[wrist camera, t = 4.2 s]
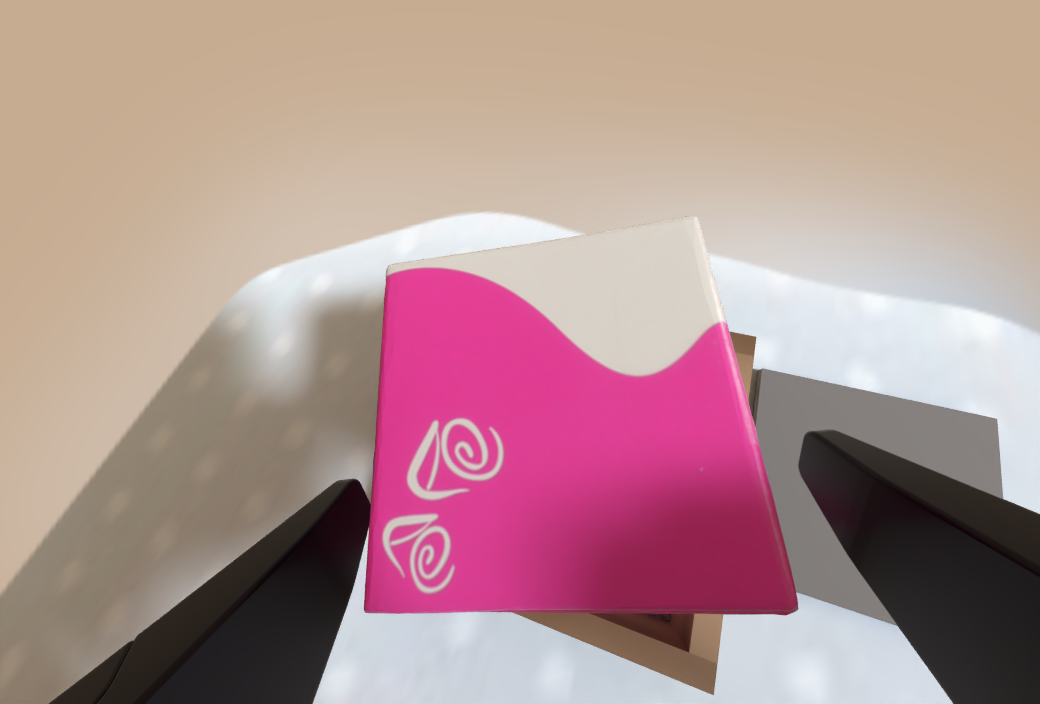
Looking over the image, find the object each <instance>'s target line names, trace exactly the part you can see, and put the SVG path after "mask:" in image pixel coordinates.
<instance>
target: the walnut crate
mask: <svg viewBox="0 0 1040 704" xmlns="http://www.w3.org/2000/svg"><path fill="white" fill-rule="evenodd" d="M730 336H731V339H732V343H733V347H734V351H735V355H736V358H737V362H738V366H739V370H740V373H741V377H742V380H743V384H744V387H745V391H746V394H747V398H748V402H749V393H750V385H751V377H752V368H753V360H754V351H755V343H756V337H754V336H749V335H744V334H739V333H734V332H730ZM513 613H516V614H518V615H520V616H523V617H525V618H528V619H530V620H532V621H535V622H537V623H540V624H542V625H545V626H547V627H549V628H552V629H554V630H557V631H559V632H562V633H564V634H566V635H569V636H571V637H574V638H576V639H579V640H581V641H583V642H586V643H588V644H591V645H593V646H596V647H598V648H600V649H603V650H605V651H608V652H610V653H613V654H615V655H617V656H620V657H622V658H625V659H627V660H630V661H632V662H634V663H637V664H639V665H642V666H644V667H647V668H649V669H651V670H654V671H656V672H659V673H661V674H664V675H666V676H668V677H671V678H673V679H676V680H678V681H681V682H683V683H685V684H688V685H690V686H693V687H695V688H697V689H700V690H702V691H705V692H707V693H710V694H712V695H714V687H715V679H716V670H717V662H718V653H719V645H720V637H721V628H722V620H723V614H694V613H692V614H671V619H670V622H667V621H664V620H662V619H659V618H656V617H654V616H651V615H649V614H646V613H533V612H513Z"/></svg>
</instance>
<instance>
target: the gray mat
mask: <svg viewBox="0 0 1040 704" xmlns="http://www.w3.org/2000/svg"><path fill="white" fill-rule="evenodd" d="M753 421H754V424H755V427H756V432H757V437H758V441H759V446H760V450H761V454H762V458H763V462H764V466H765V470H766V473H767V476H768V480H769V483H770V486H771V489H772V493H773V498H774V502H775V506H776V510H777V514H778V519H779V523H780V527H781V531H782V534H783V538H784V542H785V546H786V550H787V554H788V558H789V562H790V566H791V571H792V575H793V580H794V584H795V590H796V592H798V593H801V594H804V595H807V596H810V597H813V598H816V599H819V600H822V601H825V602H828V603H831V604H834V605H837V606H840V607H843V608H846V609H849V610H852V611H855V612H858V613H861V614H864V615H867V616H870V617H873V618H876V619H879V620H882V621H885V622H888V623H891V624H894V625H897V624H896V623H895V621H894V620H893V619H892V617H891V616H890V614H889V613H888V612H887V610H886V609H885V607H884V606H883V605H882V603H881V602H880V600H879V599H878V598H877V596H876V595H875V593H874V592H873V591H872V589H871V588H870V586H869V585H868V584H867V582H866V581H865V579H864V578H863V577H862V575H861V574H860V573H859V571H858V570H857V568H856V567H855V565H854V564H853V562H852V561H851V559H850V558H849V557H848V555H847V553H846V552H845V550H844V549H843V547H842V545H841V544H840V542H839V540H838V539H837V537H836V535H835V534H834V532H833V530H832V528H831V527H830V525H829V523H828V522H827V520H826V518H825V516H824V515H823V513H822V511H821V510H820V508H819V506H818V505H817V503H816V501H815V499H814V498H813V496H812V494H811V493H810V491H809V489H808V487H807V486H806V484H805V482H804V481H803V479H802V477H801V475H800V472H799V468H798V462H799V457H800V452H801V447H802V443H803V438H804V435H805V434H806V433H807V432H808V431H812V430H821V429H834V430H837V431H839V432H842V433H844V434H847V435H849V436H851V437H854V438H856V439H859V440H861V441H864V442H866V443H868V444H871V445H873V446H876V447H878V448H881V449H883V450H885V451H888V452H890V453H893V454H895V455H897V456H900V457H902V458H905V459H907V460H910V461H912V462H914V463H917V464H919V465H922V466H924V467H927V468H929V469H931V470H934V471H936V472H939V473H941V474H944V475H946V476H948V477H951V478H953V479H956V480H958V481H961V482H963V483H965V484H968V485H970V486H973V487H975V488H978V489H980V490H982V491H985V492H987V493H990V494H992V495H995V496H997V497H999V498H1002V499H1003V491H1002V478H1001V464H1000V451H999V437H998V424H997V419H995V418H991V417H986V416H981V415H977V414H972V413H967V412H963V411H958V410H953V409H949V408H944V407H939V406H935V405H930V404H925V403H921V402H916V401H911V400H907V399H902V398H897V397H893V396H888V395H883V394H879V393H874V392H869V391H865V390H860V389H855V388H851V387H846V386H841V385H837V384H832V383H827V382H823V381H818V380H813V379H809V378H804V377H800V376H795V375H790V374H786V373H781V372H776V371H772V370H767V369H761V370H759V371H758V375H757V384H756V392H755V401H754V410H753Z"/></svg>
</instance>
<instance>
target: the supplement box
mask: <svg viewBox="0 0 1040 704" xmlns="http://www.w3.org/2000/svg"><path fill="white" fill-rule="evenodd" d="M796 610H798V601H797V595H796V590H795V584H794V580H793V575H792V571H791V566H790V562H789V558H788V554H787V550H786V546H785V542H784V538H783V534H782V531H781V527H780V523H779V519H778V514H777V510H776V506H775V502H774V498H773V493H772V489H771V486H770V483H769V480H768V476H767V473H766V470H765V466H764V462H763V458H762V454H761V450H760V446H759V441H758V437H757V432H756V427H755V424H754V421H753V417H752V414H751V410H750V406H749V402H748V398H747V394H746V391H745V387H744V384H743V380H742V377H741V373H740V370H739V366H738V362H737V358H736V355H735V351H734V347H733V343H732V339H731V336H730V332H729V329H728V325H727V322H726V318H725V313H724V309H723V306H722V303H721V300H720V297H719V293H718V289H717V285H716V281H715V278H714V275H713V272H712V269H711V265H710V260H709V255H708V252H707V248H706V245H705V242H704V238H703V234H702V231H701V228H700V224H699V220H698V218H697V217H694V216H686V217H682V218H677V219H672V220H667V221H660V222H655V223H649V224H644V225H638V226H632V227H627V228H621V229H615V230H609V231H604V232H598V233H593V234H587V235H581V236H575V237H569V238H563V239H557V240H551V241H544V242H538V243H531V244H525V245H519V246H511V247H504V248H497V249H491V250H484V251H477V252H470V253H463V254H456V255H450V256H443V257H437V258H430V259H422V260H416V261H410V262H403V263H396V264H392V265H389V266H388V268H387V271H386V287H385V297H384V316H383V329H382V344H381V360H380V375H379V390H378V405H377V422H376V440H375V452H374V460H373V482H372V496H371V509H370V523H369V539H368V554H367V569H366V583H365V601H364V611H365V613H397V614H400V613H451V612H533V613H648V614H692V613H694V614H777V615H788V614H790V613H793V612H795V611H796Z"/></svg>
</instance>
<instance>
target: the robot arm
mask: <svg viewBox="0 0 1040 704" xmlns="http://www.w3.org/2000/svg"><path fill="white" fill-rule="evenodd" d="M798 468H799V472H800V475H801V477H802V479H803V481H804V482H805V484H806V486H807V487H808V489H809V491H810V493H811V494H812V496H813V498H814V499H815V501H816V503H817V505H818V506H819V508H820V510H821V511H822V513H823V515H824V516H825V518H826V520H827V522H828V523H829V525H830V527H831V528H832V530H833V532H834V534H835V535H836V537H837V539H838V540H839V542H840V544H841V545H842V547H843V549H844V550H845V552H846V553H847V555H848V557H849V558H850V559H851V561H852V562H853V564H854V565H855V567H856V568H857V570H858V571H859V573H860V574H861V575H862V577H863V578H864V579H865V581H866V582H867V584H868V585H869V586H870V588H871V589H872V591H873V592H874V593H875V595H876V596H877V598H878V599H879V600H880V602H881V603H882V605H883V606H884V607H885V609H886V610H887V612H888V613H889V614H890V616H891V617H892V619H893V620H894V621H895V623H896V624H897V626H898V627H899V628H900V630H901V631H902V633H903V634H904V635H905V637H906V638H907V639H908V641H909V642H910V644H911V645H912V646H913V648H914V649H915V651H916V652H917V653H918V655H919V656H920V658H921V659H922V660H923V662H924V663H925V665H926V666H927V667H928V669H929V670H930V672H931V673H932V674H933V676H934V677H935V679H936V680H937V681H938V683H939V684H940V686H941V687H942V688H943V690H944V691H945V693H946V694H947V695H948V697H949V698H950V699H951V701H952V702H953V704H1040V514H1038V513H1036V512H1033V511H1031V510H1028V509H1026V508H1024V507H1021V506H1019V505H1016V504H1014V503H1012V502H1009V501H1007V500H1004V499H1002V498H999V497H997V496H995V495H992V494H990V493H987V492H985V491H982V490H980V489H978V488H975V487H973V486H970V485H968V484H965V483H963V482H961V481H958V480H956V479H953V478H951V477H948V476H946V475H944V474H941V473H939V472H936V471H934V470H931V469H929V468H927V467H924V466H922V465H919V464H917V463H914V462H912V461H910V460H907V459H905V458H902V457H900V456H897V455H895V454H893V453H890V452H888V451H885V450H883V449H881V448H878V447H876V446H873V445H871V444H868V443H866V442H864V441H861V440H859V439H856V438H854V437H851V436H849V435H847V434H844V433H842V432H839V431H837V430H834V429H821V430H812V431H808V432H807V433H806V434H805V435H804V438H803V443H802V447H801V452H800V457H799V462H798ZM370 509H371V504H370V502H369V500H368V498H367V496H366V494H365V491H364V489H363V487H362V485H361V483H360V482H359V481H358V480H357V479H346V480H339V481H336V482H335V483H333V484H332V485H331V486H330V487H328V488H327V489H326V490H324V491H323V492H322V493H321V494H319V495H318V496H317V497H315V498H314V499H313V500H312V501H310V502H309V503H308V504H306V505H305V506H304V507H303V508H301V509H300V510H299V511H297V512H296V513H295V514H293V515H292V516H291V517H290V518H288V519H287V520H286V521H284V522H283V523H282V524H281V525H279V526H278V527H277V528H275V529H274V530H273V531H272V532H270V533H269V534H268V535H266V536H265V537H264V538H263V539H261V540H260V541H259V542H257V543H256V544H255V545H254V546H252V547H251V548H250V549H248V550H247V551H246V552H245V553H243V554H242V555H241V556H239V557H238V558H237V559H236V560H234V561H233V562H232V563H230V564H229V565H228V566H226V567H225V568H224V569H223V570H221V571H220V572H219V573H217V574H216V575H215V576H214V577H212V578H211V579H210V580H208V581H207V582H206V583H205V584H203V585H202V586H201V587H199V588H198V589H197V590H196V591H194V592H193V593H192V594H190V595H189V596H188V597H187V598H185V599H184V600H183V601H181V602H180V603H179V604H178V605H176V606H175V607H174V608H172V609H171V610H170V611H169V612H167V613H166V614H165V615H163V616H162V617H161V618H159V619H158V620H157V621H156V622H154V623H153V624H152V625H150V626H149V627H148V628H147V629H145V630H144V631H143V632H141V633H140V634H139V635H138V636H137V637H136V638H135V640H134V641H130V642H128V643H127V644H126V645H125V646H123V647H122V648H121V649H119V650H118V651H117V652H116V653H114V654H113V655H112V656H110V657H109V658H108V659H107V660H105V661H104V662H103V663H101V664H100V665H99V666H98V667H96V668H95V669H94V670H92V671H91V672H90V673H88V674H87V675H86V676H84V677H83V678H82V679H80V680H79V681H78V682H77V683H75V684H74V685H73V686H71V687H70V688H69V689H67V690H66V691H65V692H63V693H62V694H61V695H59V696H58V697H57V698H56V699H54V700H53V701H52V702H50V703H49V704H313V701H314V698H315V695H316V693H317V690H318V687H319V684H320V681H321V678H322V676H323V673H324V670H325V667H326V664H327V662H328V659H329V656H330V653H331V650H332V647H333V645H334V642H335V639H336V636H337V633H338V630H339V628H340V625H341V622H342V619H343V616H344V614H345V611H346V608H347V605H348V602H349V599H350V596H351V593H352V590H353V586H354V583H355V579H356V576H357V572H358V568H359V564H360V560H361V556H362V552H363V548H364V544H365V540H366V536H367V532H368V528H369V523H370Z"/></svg>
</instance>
